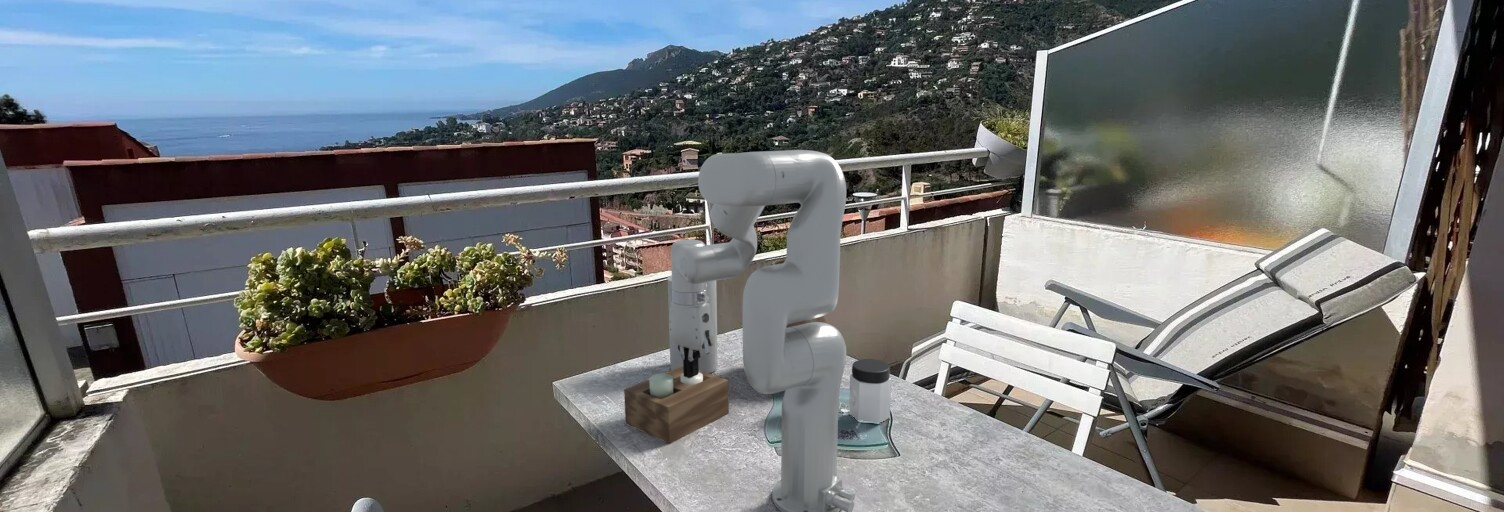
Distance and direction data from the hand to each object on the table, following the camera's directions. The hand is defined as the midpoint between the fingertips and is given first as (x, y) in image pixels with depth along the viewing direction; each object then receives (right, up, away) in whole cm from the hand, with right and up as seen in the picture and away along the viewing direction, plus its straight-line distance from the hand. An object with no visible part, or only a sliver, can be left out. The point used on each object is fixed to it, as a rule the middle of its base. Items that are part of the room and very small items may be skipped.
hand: (691, 375), depth 143 cm
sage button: (-6, -3, -7) cm, 9 cm away
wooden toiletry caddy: (-3, -9, -2) cm, 10 cm away
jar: (+40, -9, -1) cm, 41 cm away
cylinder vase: (-2, -3, +27) cm, 27 cm away
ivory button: (0, -4, +1) cm, 4 cm away
